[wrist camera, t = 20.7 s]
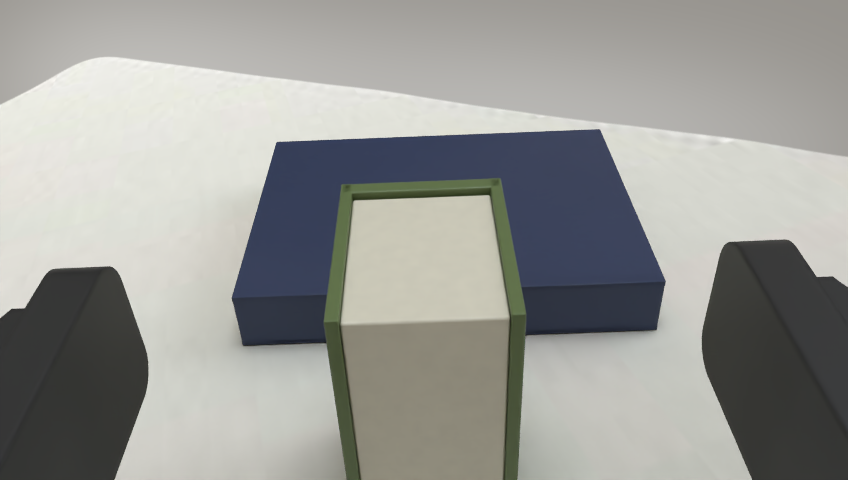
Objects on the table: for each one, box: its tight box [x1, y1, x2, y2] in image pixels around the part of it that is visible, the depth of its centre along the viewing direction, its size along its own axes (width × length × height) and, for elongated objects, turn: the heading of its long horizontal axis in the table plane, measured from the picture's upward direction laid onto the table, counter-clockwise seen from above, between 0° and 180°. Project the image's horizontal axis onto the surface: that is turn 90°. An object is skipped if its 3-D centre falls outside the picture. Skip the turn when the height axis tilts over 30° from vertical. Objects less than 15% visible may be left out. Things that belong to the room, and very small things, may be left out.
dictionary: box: [324, 178, 526, 480], centre depth 27 cm, size 5×7×12 cm
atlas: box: [232, 129, 666, 345], centre depth 43 cm, size 20×15×3 cm
